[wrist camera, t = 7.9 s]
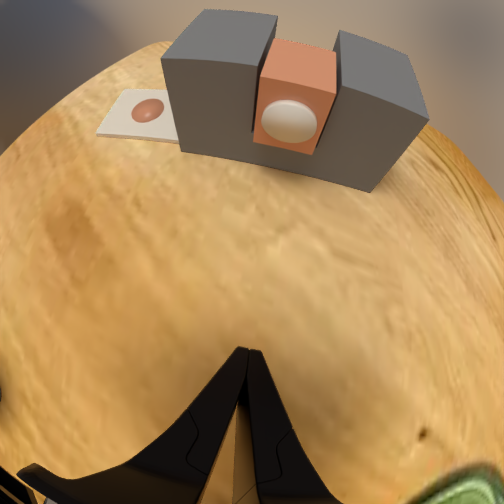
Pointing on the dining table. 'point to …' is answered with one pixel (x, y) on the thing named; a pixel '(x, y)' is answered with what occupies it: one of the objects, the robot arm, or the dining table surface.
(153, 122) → the card
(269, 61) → the push button
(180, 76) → the button housing
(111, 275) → the dining table surface
